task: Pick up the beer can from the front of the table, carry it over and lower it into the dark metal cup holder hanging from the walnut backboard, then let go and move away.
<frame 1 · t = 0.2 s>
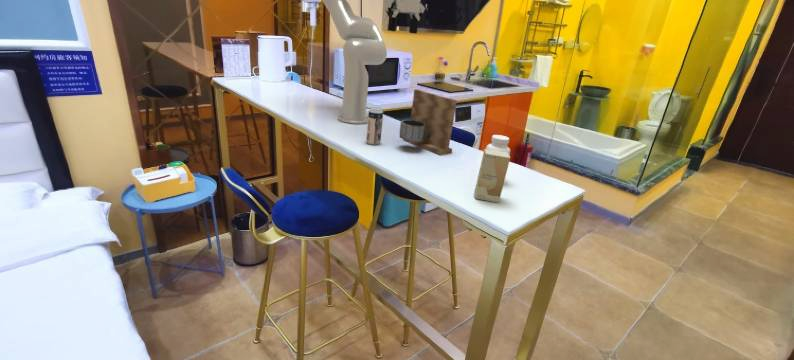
hand: (402, 32, 127), 36 cm above the table, tool pointing down, fingers open, 9 cm apart
cup bracket: (410, 149, 129), on the table
beer can: (373, 143, 131), on the table
supplement bottle: (491, 180, 111), on the table
skincare box: (486, 198, 98), on the table
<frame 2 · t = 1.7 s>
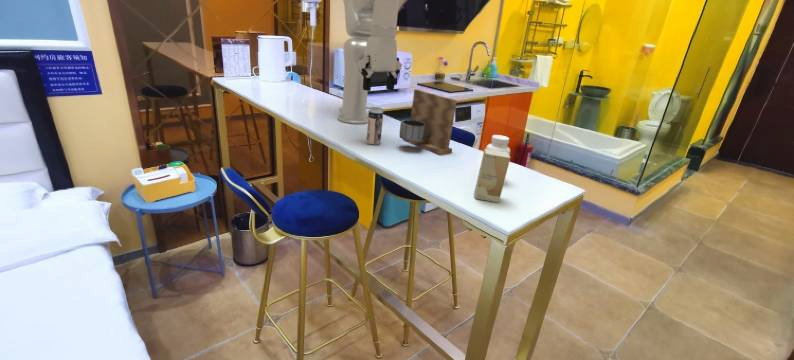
hand: (378, 90, 123), 18 cm above the table, tool pointing down, fingers open, 9 cm apart
nothing on the table moved.
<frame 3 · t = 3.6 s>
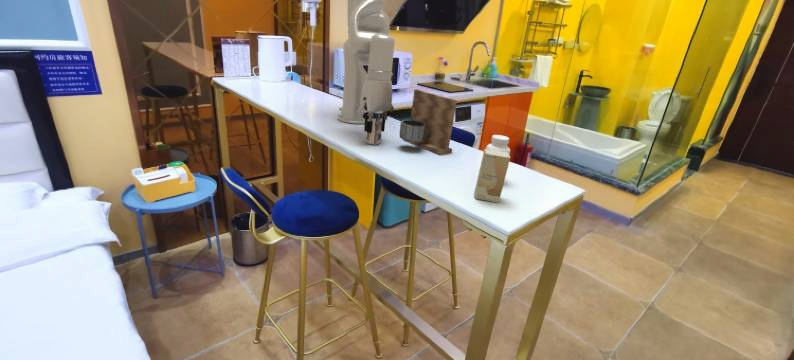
hand: (374, 130, 129), 4 cm above the table, tool pointing down, fingers closed on beer can, 4 cm apart
beer can: (373, 143, 131), on the table, touching gripper
everything else where it was.
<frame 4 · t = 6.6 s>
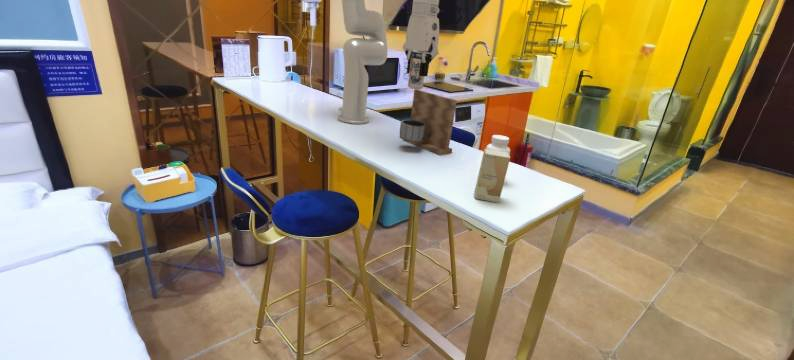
hand: (416, 74, 120), 25 cm above the table, tool pointing down, fingers closed on beer can, 4 cm apart
beer can: (414, 88, 122), point 20 cm above the table, touching gripper
everything else where it was.
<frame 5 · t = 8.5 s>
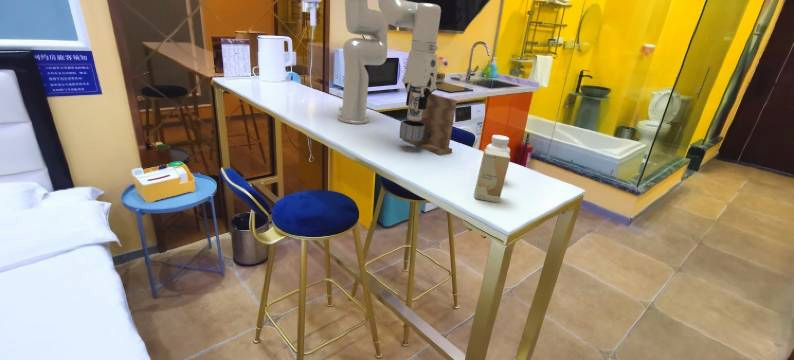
hand: (415, 106, 124), 14 cm above the table, tool pointing down, fingers closed on beer can, 4 cm apart
beer can: (414, 120, 125), point 10 cm above the table, touching gripper
everything else where it was.
when the fingers open (11 cm above the table, at t = 10.1 s): beer can drops 1 cm, resting on cup bracket.
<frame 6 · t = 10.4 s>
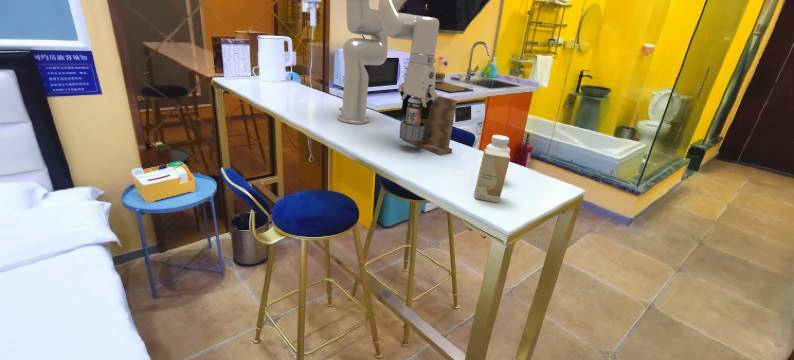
hand: (414, 115, 125), 12 cm above the table, tool pointing down, fingers open, 8 cm apart
beer can: (411, 135, 127), point 5 cm above the table, touching cup bracket
everything else where it was.
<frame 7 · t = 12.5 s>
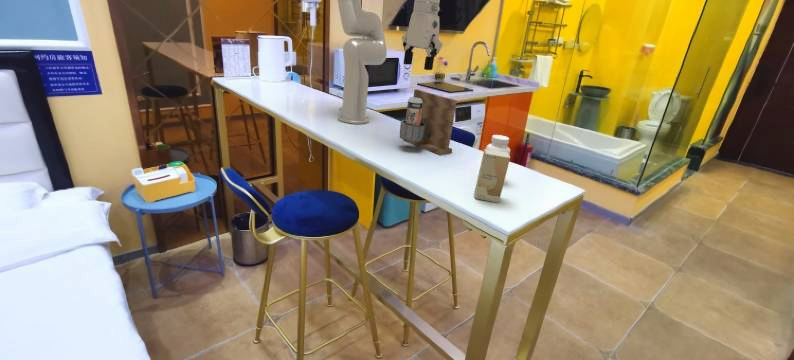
hand: (417, 66, 124), 26 cm above the table, tool pointing down, fingers open, 9 cm apart
nothing on the table moved.
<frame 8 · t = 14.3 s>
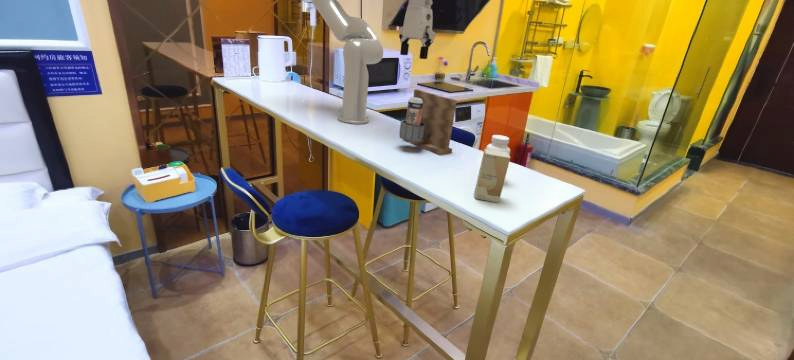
hand: (413, 56, 134), 28 cm above the table, tool pointing down, fingers open, 9 cm apart
nothing on the table moved.
at the end: beer can 0.2 cm off-centre on the cup bracket, point 4.8 cm above the cup bracket's base; beer can tilted 0°; the gripper is holding nothing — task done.
